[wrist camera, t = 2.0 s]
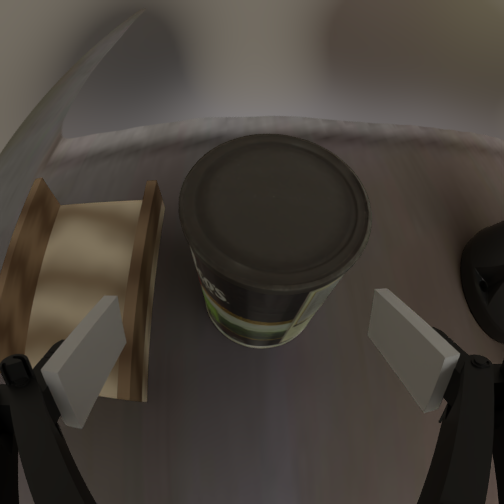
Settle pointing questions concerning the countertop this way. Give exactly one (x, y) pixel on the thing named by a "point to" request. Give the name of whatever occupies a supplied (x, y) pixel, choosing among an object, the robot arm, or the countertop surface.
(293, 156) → the coffee can
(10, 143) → the countertop surface
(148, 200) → the curved wooden tray
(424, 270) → the countertop surface
